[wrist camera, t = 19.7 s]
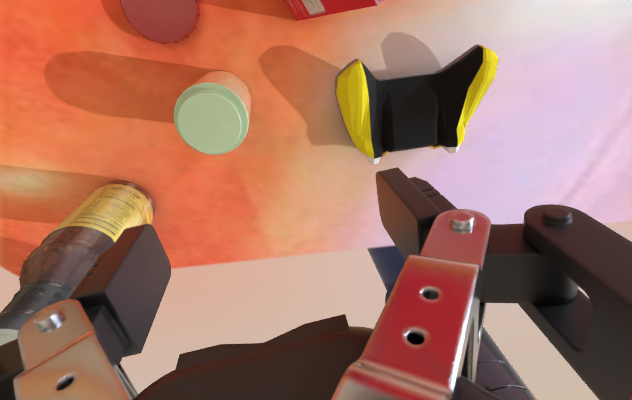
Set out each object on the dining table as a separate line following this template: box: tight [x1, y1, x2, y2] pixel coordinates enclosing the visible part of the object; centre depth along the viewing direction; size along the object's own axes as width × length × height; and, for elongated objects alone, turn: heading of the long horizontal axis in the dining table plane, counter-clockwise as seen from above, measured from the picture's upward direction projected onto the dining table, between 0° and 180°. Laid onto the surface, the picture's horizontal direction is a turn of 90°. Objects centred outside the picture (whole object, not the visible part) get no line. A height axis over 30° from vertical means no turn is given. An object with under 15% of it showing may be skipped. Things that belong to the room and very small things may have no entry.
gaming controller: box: [335, 45, 498, 164], centre depth 33 cm, size 15×6×10 cm
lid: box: [120, 0, 200, 44], centre depth 29 cm, size 6×6×1 cm
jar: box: [174, 71, 252, 155], centre depth 29 cm, size 6×6×9 cm
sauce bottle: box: [0, 181, 155, 346], centre depth 28 cm, size 7×6×20 cm
